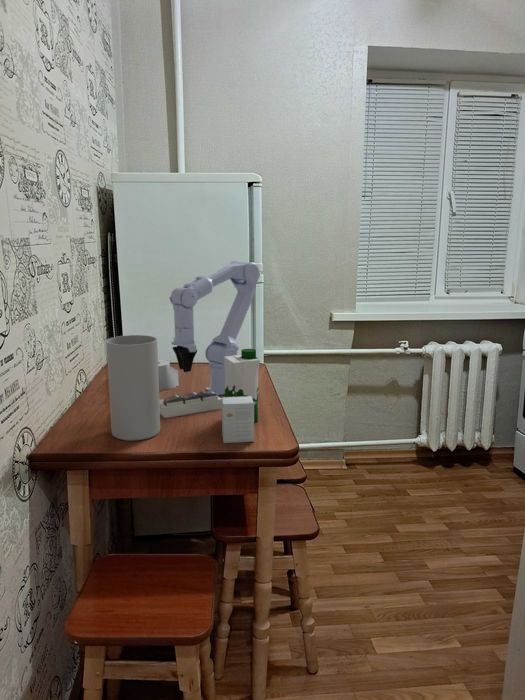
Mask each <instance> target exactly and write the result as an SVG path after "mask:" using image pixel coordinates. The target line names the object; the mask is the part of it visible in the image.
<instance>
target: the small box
mask: <svg viewBox="0 0 525 700" xmlns="http://www.w3.org/2000/svg"><path fill="white" fill-rule="evenodd" d="M221 398H222V409H221V426H222V427H221V430H222V431H221V434H222V441H223V442H222V443H223V444H233V443H251V442H252V443H253V442H255V422H254V402H253V399H252V396H246V397H225V396H224V397H223V396H222V397H221Z"/></svg>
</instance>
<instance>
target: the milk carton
mask: <svg viewBox="0 0 525 700" xmlns="http://www.w3.org/2000/svg"><path fill="white" fill-rule="evenodd" d="M260 362H261V360H260V359H259V358H257V350H256V349H254V348H243V349H241V351H240V354H237V355H233V356H227V357H224V366H225V394H224V397H246V396H252V399H253V402H254V423H258V422H259V370H260Z"/></svg>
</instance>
